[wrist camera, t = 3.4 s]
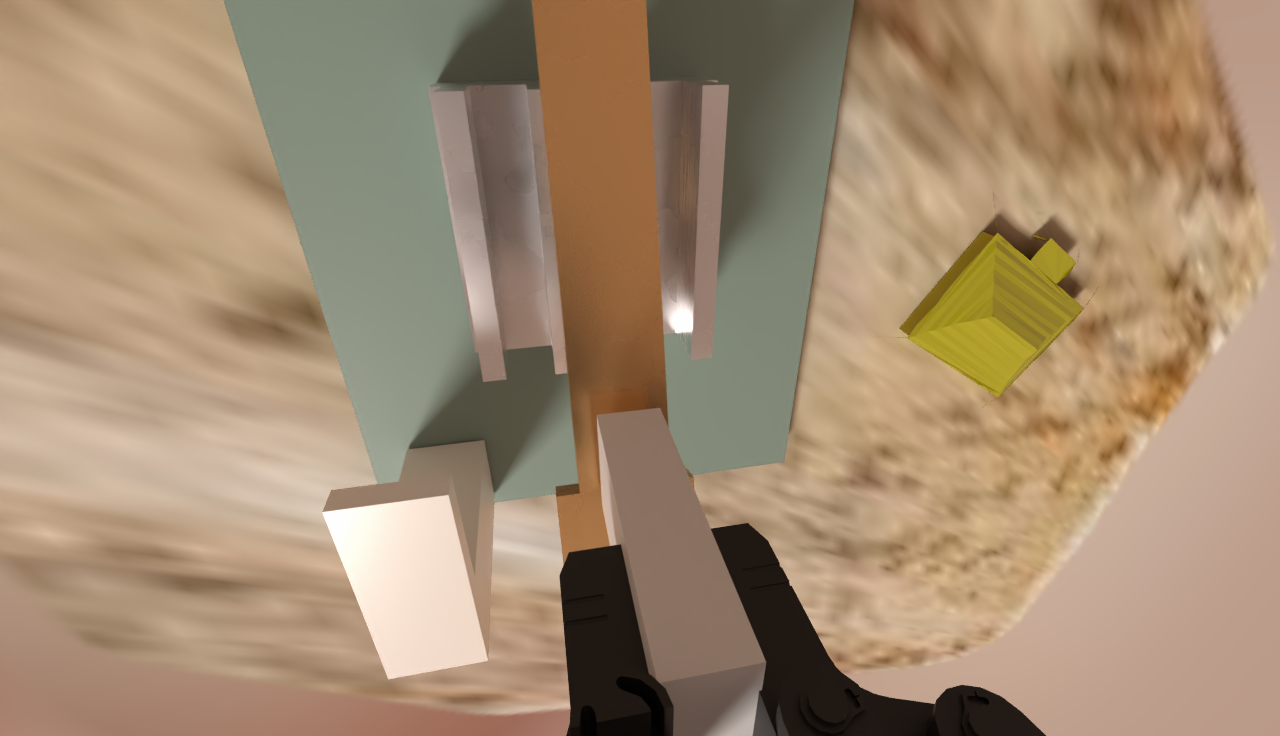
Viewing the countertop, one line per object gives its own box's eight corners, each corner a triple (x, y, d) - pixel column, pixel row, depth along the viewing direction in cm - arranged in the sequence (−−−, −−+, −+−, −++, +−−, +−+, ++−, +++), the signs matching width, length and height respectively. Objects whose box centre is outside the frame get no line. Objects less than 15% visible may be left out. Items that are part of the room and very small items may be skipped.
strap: (486, -147, 12) (482, -181, 11) (658, -140, 12) (668, -171, 11) (563, 562, 16) (565, 583, 15) (689, 542, 16) (698, 561, 15)
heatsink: (436, 82, 17) (416, 92, 13) (698, 76, 18) (742, 84, 14) (478, 326, 21) (471, 383, 17) (689, 307, 22) (722, 356, 18)
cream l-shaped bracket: (383, 361, 20) (322, 512, 14) (468, 354, 21) (448, 495, 14) (422, 505, 24) (388, 679, 17) (494, 495, 24) (488, 660, 18)
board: (136, -344, 13) (-186, -676, 7) (874, -278, 15) (1091, -470, 10) (393, 498, 25) (357, 634, 19) (774, 446, 28) (842, 551, 22)
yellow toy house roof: (846, 334, 26) (880, 363, 24) (990, 158, 23) (1045, 171, 21) (970, 410, 31) (1010, 442, 28) (1106, 269, 28) (1164, 291, 25)
